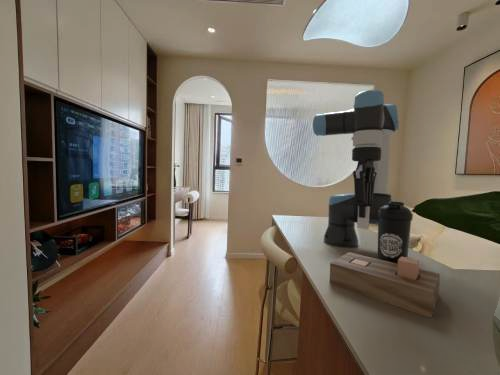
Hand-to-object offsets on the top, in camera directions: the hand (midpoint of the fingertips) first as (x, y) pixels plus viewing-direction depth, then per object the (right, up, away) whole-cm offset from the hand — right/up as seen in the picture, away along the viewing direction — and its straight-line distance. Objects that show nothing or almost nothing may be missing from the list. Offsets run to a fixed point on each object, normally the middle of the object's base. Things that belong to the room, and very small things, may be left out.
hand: (362, 228), depth 69 cm
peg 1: (0, -16, +1) cm, 16 cm away
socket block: (+4, -17, -3) cm, 17 cm away
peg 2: (+8, -13, -7) cm, 17 cm away
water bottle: (+15, -16, +11) cm, 25 cm away
